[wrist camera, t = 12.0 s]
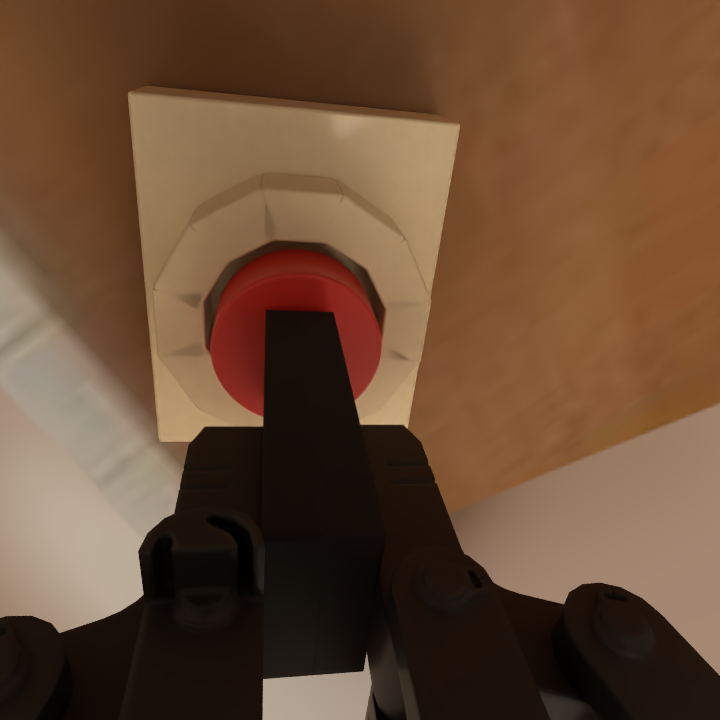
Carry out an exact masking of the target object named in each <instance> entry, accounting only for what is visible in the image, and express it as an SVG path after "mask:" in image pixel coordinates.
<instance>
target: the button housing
mask: <svg viewBox="0 0 720 720" xmlns="http://www.w3.org/2000/svg"><path fill="white" fill-rule="evenodd" d="M128 104H129V115H130V126H131V137H132V148H133V159H134V170H135V181H136V192H137V203H138V214H139V225H140V236H141V247H142V258H143V269H144V280H145V291H146V302H147V313H148V324H149V335H150V346H151V357H152V369H153V380H154V391H155V402H156V413H157V424H158V435H159V440H160V441H161V442H192V441H193V439H194V438H195V437H196V436H197V435H198V434H199V433H200V432H201V430H202V429H203V428H204V427H205V426H263V417H262V416H259V415H257V414H255V413H253V412H251V411H249V410H247V409H246V408H244V407H243V406H241V405H240V404H239V403H237V402H236V401H235V400H234V399H233V398H232V397H231V396H230V395H229V394H228V393H227V391H226V390H225V389H224V388H223V386H222V385H221V383H220V381H219V380H218V378H217V375H216V373H215V371H214V368H213V364H212V360H211V351H210V348H211V337H212V332H213V327H214V322H215V317H216V312H217V308H218V303H219V300H220V297H221V294H222V292H223V290H224V288H225V287H226V285H227V283H228V282H229V281H230V279H231V278H232V277H233V276H234V274H235V273H236V272H237V271H238V270H239V269H241V268H242V267H243V266H245V265H246V264H247V263H249V262H250V261H252V260H254V259H256V258H257V257H260V256H262V255H265V254H267V253H271V252H274V251H279V250H286V249H303V250H311V251H315V252H319V253H322V254H324V255H327V256H329V257H331V258H333V259H335V260H337V261H339V262H340V263H342V264H343V265H344V266H346V267H347V268H348V269H349V270H350V271H351V272H352V273H353V274H354V275H355V276H356V277H357V279H358V280H359V281H360V282H361V284H362V286H363V288H364V289H365V291H366V294H367V296H368V299H369V301H370V304H371V307H372V309H373V312H374V314H375V317H376V320H377V322H378V325H379V329H380V333H381V342H382V348H381V357H380V362H379V365H378V368H377V371H376V373H375V375H374V377H373V379H372V381H371V383H370V384H369V385H368V387H367V388H366V390H365V391H364V392H363V393H362V394H361V395H360V396H359V397H358V398H357V399H356V400H355V404H356V408H357V412H358V417H359V421H360V425H404V426H405V427H406V428H407V429H408V423H409V418H410V412H411V406H412V400H413V395H414V389H415V383H416V377H417V372H418V366H419V364H420V361H421V357H422V351H423V346H424V340H425V334H426V328H427V323H428V317H429V311H430V306H431V300H430V297H431V291H432V286H433V280H434V274H435V268H436V263H437V257H438V251H439V245H440V240H441V234H442V228H443V222H444V217H445V211H446V205H447V199H448V194H449V188H450V182H451V176H452V171H453V165H454V159H455V153H456V148H457V142H458V136H459V130H460V124H458V123H456V122H454V121H451V120H449V119H447V118H444V117H442V116H439V115H437V114H427V113H417V112H407V111H397V110H387V109H377V108H367V107H357V106H347V105H337V104H327V103H317V102H307V101H297V100H287V99H277V98H267V97H257V96H247V95H236V94H226V93H216V92H206V91H196V90H186V89H176V88H166V87H156V86H146V87H143V88H140V89H137V90H133V91H130V92H128Z"/></svg>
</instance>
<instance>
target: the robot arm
mask: <svg viewBox="0 0 720 720" xmlns="http://www.w3.org/2000/svg"><path fill="white" fill-rule="evenodd" d="M138 552H139V560H140V568H141V576H142V584H143V592H144V595H143V596H142V597H141V598H139V600H137V601H136V602H134V603H133V604H131V605H130V606H128V607H127V608H125V609H123V610H122V611H120V612H118V613H115V614H113V615H111V616H108V617H106V618H104V619H101V620H98V621H95V622H92V623H89V624H86V625H83V626H80V627H77V628H74V629H71V630H68V631H65V632H62V633H58V631H57V630H56V629H55V628H54V626H53V625H52V624H51V623H49V622H46V621H44V620H41V619H38V618H36V617H33V616H6V617H2V618H0V720H262V711H263V707H262V703H263V679H268V678H280V677H293V676H308V675H321V674H334V673H346V672H359V671H363V670H364V664H365V658H366V652H367V655H368V662H369V668H370V674H371V680H372V685H371V691H370V696H369V701H368V707H367V712H366V718H365V720H720V676H719V675H718V673H716V671H715V670H714V669H713V668H712V667H711V666H710V665H709V664H708V663H707V662H706V661H705V660H704V659H703V658H702V657H701V656H700V655H699V654H698V652H697V651H696V650H695V649H694V648H693V647H692V646H691V645H690V644H689V643H688V642H687V641H686V640H685V639H684V638H683V637H682V636H681V635H680V634H679V633H678V632H677V631H676V629H675V628H674V627H673V626H672V625H671V624H670V623H669V622H668V621H667V620H666V619H665V618H664V617H663V616H662V615H661V614H660V613H659V612H658V611H657V610H655V609H654V608H653V607H652V606H651V605H650V604H648V603H647V602H646V601H645V600H643V599H642V598H640V597H638V596H637V595H634V594H633V593H631V592H629V591H627V590H625V589H623V588H621V587H617V586H612V585H608V584H603V583H591V584H582V585H580V586H579V587H577V588H576V589H574V590H572V591H571V592H569V594H568V597H567V599H566V601H565V604H560V603H556V602H551V601H547V600H543V599H539V598H535V597H531V596H526V595H522V594H519V593H516V592H513V591H509V590H507V589H504V588H502V587H500V586H498V585H497V584H495V583H493V582H492V580H491V578H490V577H489V575H488V574H487V572H486V571H485V569H484V568H483V567H482V566H480V565H479V564H478V563H477V562H475V561H474V560H473V559H472V558H470V557H469V556H467V555H465V554H464V552H463V551H462V549H461V546H460V544H459V541H458V538H457V536H456V533H455V530H454V529H453V525H452V523H451V520H450V517H449V515H448V512H447V510H446V507H445V504H444V502H443V499H442V496H441V494H440V491H439V489H438V486H437V483H435V478H434V475H433V473H432V470H431V468H430V466H428V460H427V457H426V454H425V452H424V449H423V447H422V444H421V442H420V441H419V440H418V439H417V438H416V437H415V436H414V435H413V434H412V433H411V432H410V431H409V430H408V429H407V428H406V427H405V426H404V425H360V421H359V417H358V412H357V408H356V404H355V400H354V396H353V391H352V387H351V383H350V379H349V375H348V370H347V366H346V362H345V358H344V354H343V349H342V345H341V341H340V337H339V333H338V328H337V324H336V320H335V316H334V312H317V311H289V310H266V316H265V363H264V410H263V426H205V427H204V428H203V429H202V430H201V432H200V433H199V434H198V435H197V436H196V437H195V438H194V439H193V441H192V442H191V443H190V444H189V446H188V451H187V455H186V460H185V465H184V471H183V474H182V479H181V484H180V490H179V494H178V498H177V503H176V508H175V513H174V514H173V515H171V516H169V517H167V518H164V519H163V520H162V521H161V522H160V523H159V524H158V525H156V526H155V527H154V528H153V529H152V530H151V531H150V532H148V534H147V536H146V537H145V539H144V541H143V543H142V545H141V547H140V549H139V551H138Z"/></svg>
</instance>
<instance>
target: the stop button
mask: <svg viewBox="0 0 720 720" xmlns="http://www.w3.org/2000/svg"><path fill="white" fill-rule="evenodd" d="M266 310H289V311H317V312H334V316H335V320H336V324H337V328H338V333H339V337H340V341H341V345H342V349H343V354H344V358H345V362H346V366H347V370H348V375H349V379H350V383H351V387H352V391H353V396H354V400H356V399H357V398H358V397H359V396H360V395H361V394H362V393H363V392H364V391H365V390H366V388H367V387H368V385H369V384H370V383H371V381H372V379H373V377H374V375H375V373H376V371H377V368H378V365H379V362H380V357H381V348H382V342H381V333H380V329H379V325H378V322H377V320H376V317H375V314H374V312H373V309H372V307H371V304H370V301H369V299H368V296H367V294H366V291H365V289H364V288H363V286H362V284H361V282H360V281H359V280H358V279H357V277H356V276H355V275H354V274H353V273H352V272H351V271H350V270H349V269H348V268H347V267H346V266H344V265H343V264H342V263H340V262H339V261H337V260H335V259H333V258H331V257H329V256H327V255H324V254H322V253H319V252H315V251H311V250H303V249H286V250H279V251H274V252H271V253H267V254H265V255H262V256H260V257H257V258H256V259H254V260H252V261H250V262H249V263H247V264H246V265H245V266H243V267H242V268H241V269H239V270H238V271H237V272H236V273H235V274H234V276H233V277H232V278H231V279H230V281H229V282H228V283H227V285H226V287H225V288H224V290H223V292H222V294H221V297H220V300H219V303H218V308H217V312H216V317H215V322H214V327H213V332H212V337H211V348H210V351H211V360H212V364H213V368H214V371H215V373H216V375H217V378H218V380H219V381H220V383H221V385H222V386H223V388H224V389H225V390H226V391H227V393H228V394H229V395H230V396H231V397H232V398H233V399H234V400H235V401H236V402H237V403H239V404H240V405H241V406H243V407H244V408H246V409H247V410H249V411H251V412H253V413H255V414H257V415H259V416H262V417H263V410H264V363H265V316H266Z"/></svg>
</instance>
